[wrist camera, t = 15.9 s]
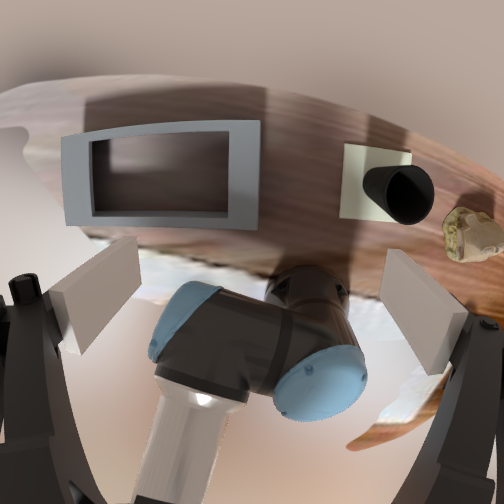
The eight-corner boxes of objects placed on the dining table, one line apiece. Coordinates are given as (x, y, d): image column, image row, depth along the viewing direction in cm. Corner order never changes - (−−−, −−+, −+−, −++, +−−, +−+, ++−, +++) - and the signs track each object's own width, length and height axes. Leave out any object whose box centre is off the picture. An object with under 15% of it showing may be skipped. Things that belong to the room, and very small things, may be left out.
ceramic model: (439, 265, 48) (466, 287, 38) (441, 208, 44) (472, 221, 35) (488, 254, 46) (516, 272, 37) (492, 202, 43) (523, 214, 33)
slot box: (258, 219, 47) (256, 230, 41) (87, 216, 49) (66, 225, 42) (261, 125, 42) (260, 120, 36) (83, 137, 44) (60, 137, 37)
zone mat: (403, 222, 46) (404, 223, 45) (338, 217, 46) (339, 218, 46) (410, 153, 42) (411, 153, 41) (343, 143, 42) (344, 143, 42)
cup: (377, 216, 45) (408, 237, 34) (346, 184, 44) (371, 195, 32) (406, 184, 43) (444, 195, 32) (377, 150, 42) (410, 152, 30)
